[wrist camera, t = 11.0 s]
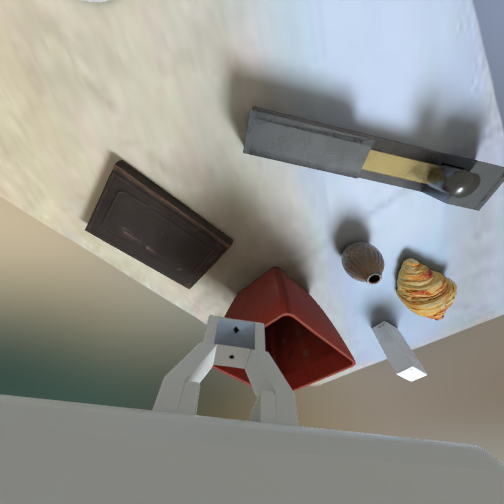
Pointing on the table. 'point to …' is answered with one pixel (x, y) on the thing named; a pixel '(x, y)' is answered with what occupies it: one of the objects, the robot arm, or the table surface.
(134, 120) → the table surface
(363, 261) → the vase
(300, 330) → the plant pot
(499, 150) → the table surface
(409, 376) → the skincare box
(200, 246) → the hardcover book
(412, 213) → the table surface
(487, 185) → the guide
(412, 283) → the croissant
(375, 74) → the table surface
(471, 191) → the sliding bolt
